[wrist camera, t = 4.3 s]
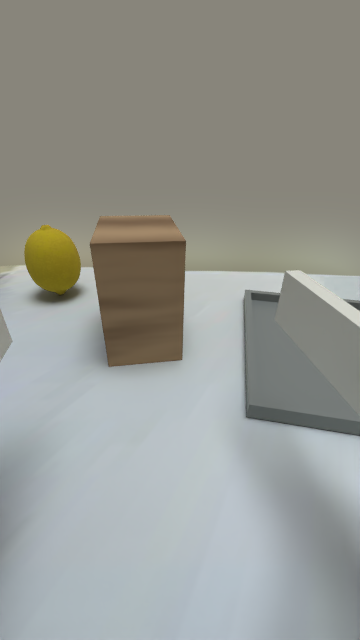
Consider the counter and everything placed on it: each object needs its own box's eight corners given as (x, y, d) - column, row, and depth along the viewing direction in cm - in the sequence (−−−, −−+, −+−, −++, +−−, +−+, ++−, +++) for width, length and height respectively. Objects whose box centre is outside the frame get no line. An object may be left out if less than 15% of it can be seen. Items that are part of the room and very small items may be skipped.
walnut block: (182, 360, 23) (185, 240, 18) (108, 366, 22) (89, 243, 17) (169, 312, 30) (169, 215, 24) (112, 315, 29) (100, 216, 24)
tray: (246, 416, 18) (249, 404, 18) (243, 298, 33) (245, 289, 32) (552, 466, 16) (569, 454, 15) (403, 315, 30) (408, 305, 29)
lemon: (66, 280, 36) (52, 216, 32) (95, 292, 33) (84, 223, 29) (25, 296, 32) (3, 225, 28) (55, 310, 29) (35, 235, 25)
